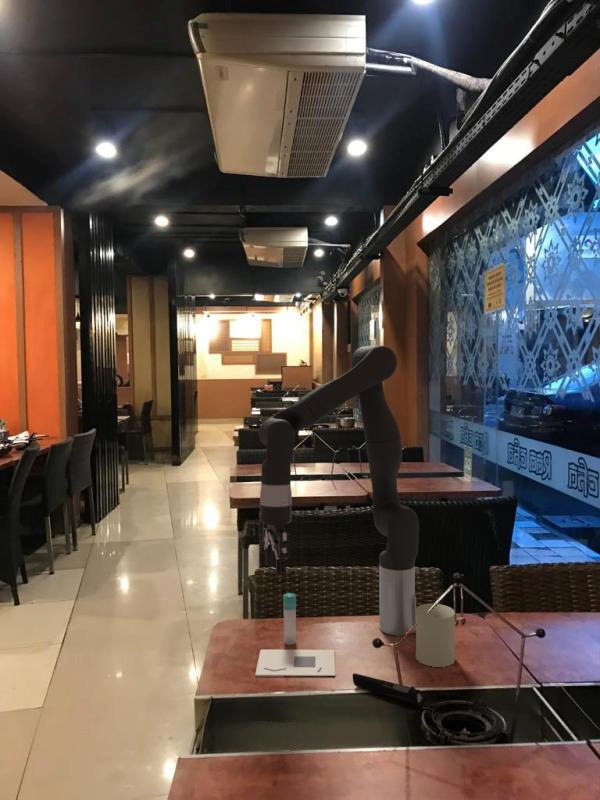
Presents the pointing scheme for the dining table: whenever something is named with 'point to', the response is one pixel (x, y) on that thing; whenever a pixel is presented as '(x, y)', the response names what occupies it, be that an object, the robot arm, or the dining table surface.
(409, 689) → the electric trimmer
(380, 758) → the dining table surface
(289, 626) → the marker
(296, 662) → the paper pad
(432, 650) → the can
